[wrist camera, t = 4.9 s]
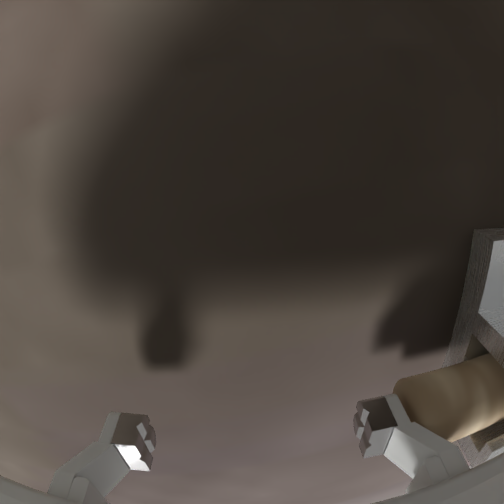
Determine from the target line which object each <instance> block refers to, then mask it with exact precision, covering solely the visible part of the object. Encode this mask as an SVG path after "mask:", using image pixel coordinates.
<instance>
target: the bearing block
mask: <svg viewBox="0 0 504 504" xmlns="http://www.w3.org/2000/svg"><path fill="white" fill-rule="evenodd" d="M488 353H490V354H491V355H492V356H493V357H494V358H495V359H496V361H497V362H498V363H499V364H500V365H501V366H502V368H503V369H504V228H490V229H477V230H474V231H473V238H472V245H471V252H470V258H469V264H468V269H467V274H466V279H465V284H464V289H463V294H462V298H461V302H460V307H459V311H458V315H457V318H456V322H455V326H454V330H453V333H452V337H451V340H450V344H449V347H448V350H447V353H446V356H445V360H444V363H443V366H442V368H444V367H448V366H451V365H454V364H457V363H461V362H464V361H467V360H470V359H473V358H476V357H479V356H482V355H485V354H488ZM457 441H458V443H459V445H460V447H461V448H462V450H463V452H464V454H465V456H466V458H467V460H468V462H469V463H470V465H471V467H472V468H474V467H476V466H478V465H480V464H482V463H484V462H486V461H488V460H490V459H492V458H494V457H496V456H498V455H500V454H501V453H503V452H504V419H503V420H501V421H499V422H496V423H494V424H492V425H490V426H488V427H486V428H484V429H482V430H479V431H477V432H475V433H473V434H470V435H468V436H466V437H463V438H461V439H458V440H457Z"/></svg>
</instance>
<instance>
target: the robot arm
mask: <svg viewBox="0 0 504 504" xmlns="http://www.w3.org/2000/svg"><path fill="white" fill-rule="evenodd" d="M356 408H357V411H358V412H357V413H356V414H355V415H354V420H353V421H354V431H355V435H356V437H357V438H359V439H360V443H359V447H360V450H361V453H362V456H363V458H367V457H372V456H377V455H381V454H384V456H386V457H387V458H388V459H389V460H390V461H392V462H393V463H394V464H395V465H397V466H398V467H399V468H400V469H401V470H403V471H404V472H405V473H406V474H408V475H409V476H410V477H411V478H413V480H412V482H411V483H410V485H409V486H408V488H407V489H406V491H405V492H406V494H404V495H401V496H398V497H394V498H391V499H387V500H384V501H380V502H376V503H372V504H504V452H503V453H501V454H500V455H498V456H496V457H494V458H492V459H490V460H488V461H486V462H484V463H482V464H480V465H478V466H476V467H474V468H471V469H470V468H469V466H468V464H467V462H466V461H465V459H464V457H463V455H462V453H461V451H460V449H459V447H458V446H456V445H454V444H453V443H451V442H449V441H447V440H445V439H444V438H442V437H440V436H438V435H437V434H435V433H433V432H431V431H430V430H428V429H426V428H424V427H423V426H421V425H419V424H417V423H416V422H411V421H410V419H409V417H408V415H407V413H406V411H405V409H404V407H403V405H402V404H401V402H400V400H399V398H398V396H397V395H396V394H390V395H386V396H380V397H375V398H371V399H366V400H361V401H358V403H357V406H356ZM149 423H150V419H149V417H148V415H141V414H131V413H121V412H110V413H109V414H108V416H107V419H106V421H105V424H104V427H103V429H102V432H101V435H100V437H99V440H98V442H93V443H92V444H91V445H89V446H88V447H87V448H85V449H84V450H83V451H81V452H80V453H79V454H77V455H76V456H75V457H73V458H72V459H70V460H69V461H68V462H66V463H65V464H64V465H62V466H61V467H60V468H58V469H57V470H56V472H55V474H54V477H53V479H52V482H51V484H50V487H49V489H48V492H47V493H45V492H42V491H39V490H36V489H33V488H30V487H28V486H25V485H22V484H20V483H17V482H15V481H12V480H10V479H8V478H5V477H3V476H1V475H0V504H110V503H109V502H108V501H107V500H106V499H105V498H104V497H105V496H106V495H107V494H108V493H109V492H110V491H111V490H112V489H113V488H114V487H115V486H116V485H117V484H118V483H119V482H120V481H121V480H122V479H123V478H124V477H125V476H126V475H127V473H128V472H129V471H130V469H132V470H143V471H150V469H151V465H152V460H153V457H152V455H151V452H152V451H153V450H154V449H155V446H156V434H155V431H154V428H153V427H152V426H150V425H149Z"/></svg>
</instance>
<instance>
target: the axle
mask: <svg viewBox="0 0 504 504" xmlns="http://www.w3.org/2000/svg"><path fill="white" fill-rule="evenodd" d="M393 394H396V395H397V396H398V398H399V400H400V402H401V404H402V405H403V407H404V409H405V411H406V413H407V415H408V417H409V419H410V421H411V422H416V423H417V424H419V425H421V426H423V427H424V428H426V429H428V430H430V431H431V432H433V433H435V434H437V435H438V436H440V437H442V438H444V439H445V440H447V441H449V442H453V441H456V440H458V439H461V438H463V437H466V436H468V435H470V434H473V433H475V432H477V431H479V430H482V429H484V428H486V427H488V426H490V425H492V424H494V423H496V422H499V421H501V420H503V419H504V369H503V368H502V366H501V365H500V364H499V363H498V362H497V361H496V359H495V358H494V357H493V356H492V355H491V354H490V353H488V354H485V355H482V356H479V357H476V358H473V359H470V360H467V361H464V362H461V363H457V364H454V365H451V366H448V367H444V368H441V369H437V370H434V371H430V372H426V373H422V374H419V375H415V376H411V377H407V378H402V379H400V380H399V381H398V382H397V383H396V385H395V387H394V390H393Z"/></svg>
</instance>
